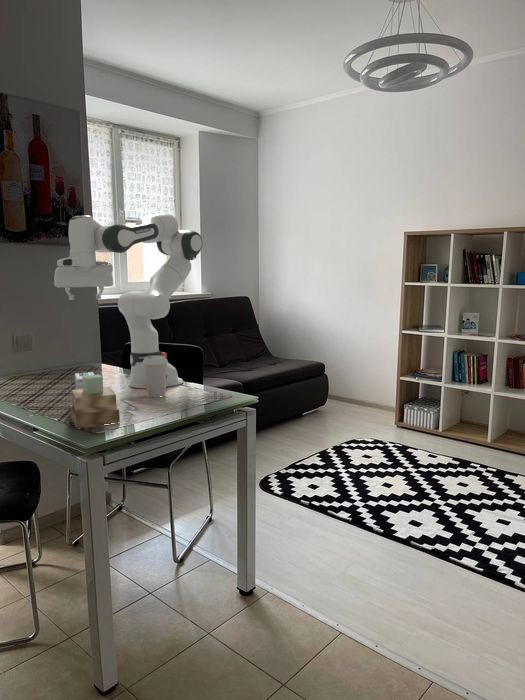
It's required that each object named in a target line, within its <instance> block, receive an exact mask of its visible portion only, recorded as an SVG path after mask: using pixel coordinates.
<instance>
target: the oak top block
mask: <svg viewBox="0 0 525 700" xmlns="http://www.w3.org/2000/svg"><path fill="white" fill-rule="evenodd" d="M71 394H72V395H71V396H72V405H73V407H74V410H75V412H76V414H85V413H94V412H103V411H112V410H117V408H118V407H117V395H116V393H115V391H114V390H113V389H112V387H111V386H103V393H96V394H88V395H87V394H86V393H85V392H83V389H78V390H75V389H71ZM116 407H117V408H116Z"/></svg>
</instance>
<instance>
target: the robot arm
mask: <svg viewBox="0 0 525 700" xmlns="http://www.w3.org/2000/svg"><path fill="white" fill-rule="evenodd" d="M68 241H69V246H70V249H69V256H67V257H66V256H65V257H64V258H62V259H58V260H57V261H56V265H57V267H56V268H55V270H54V280H53V282H54V283H53V284H54V286H55V287H56V288H64V289H65V292H66V294H67V295H68V300H69V301H74V300H75V295H74V294H71V292H70V291H71V288H97V287H98V290H99V291H98V293H97V294H95V300H101V299H102V295H103V291H104V290H105V288H107V287H109V288H110V287H112V286H113V285H114V278H113V271H114V269H113V267H114V266H113V265H112V263H110V262H109V261H105V260H104V261H98V260H97V256H96V253H101V254H102V253H114V254H115V253H116V254H122V253H126V252H128V251H129V249H131V248H132V247H133V246H134V245H136V244H140V243H143V244H153V243H156V247H157V249H158V251H159V252H160V254H163V255H165V256H169V258H168V260H167V261H166V262H165V263H164V264H162V266H161V267H160V268H159V269H158V270H157V271H156V272H155V273H154V274H153V275H152V276H151V277H150V279H149V280H150V281H149V284H150V286H149V287H148V288H147V289H145V290H143V291H138V290H129V291H127V292H124V293H122V294H121V295H120V296H119V297H118V299H117V309H118V310H119V312H120V313H121V314H122V315H123V317H124V318H125V320H126V324H127V325H128V331H129V334H130V346H131V347H130V349H131V350H130V351H131V352H130V366H131V370H130V377H129V382H128V386H129V387H130V388H136V389H147V385H146V377H145V369H144V364H143V360H144V358H145V357H147V356H165V357H166V358H167V357H168V354H167V352H165V351H164V352H163V351H160V350H159V332H158V331H157V329H156V328H155V327H154V326H153V324H152V321H151V320H158V319H162V318H165V317H166V316H167V315H168V314H169V312H170V309H171V303H170V299H171V297H172V295H173V294H174V293H175V292H176V291H177V290H178V288H180V286H181V285H182V284H183V282H185V280H186V279H187V277H189V275H190V273H191V270H192V263H191V261H193V260H195V259H197V256H198V255H199V254H200V252H202V251H201V250H202V248H203V244H204V243H203V238H202V235H201V234H200V233H199V232H197V231H195V230H190V229H188V230H186V229H179V223H178V220H177V218H176V217H175V216H174V215H172V214H169V213H155V214H148V215H144V216H142V217H140V218H138V219H137V220H136V222H135V225H134V226H127V225H125V224H119V223H118V224H112V225H103V224H101V223H99V222H97V221H96V220H95V219H94V218H93V217H92V216H91V215H85V214H84V215H75V216H73V217H71V218H70V219H69V221H68ZM182 383H183V384H184V380H183V378H180V377H179V376H178V371H177V369H176V367H175V366H173V365H172V364H171V363H169V362H168V363H167V369H166V386H165V388H167V387H173V386H178V385H179V386H180V385H182Z"/></svg>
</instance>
